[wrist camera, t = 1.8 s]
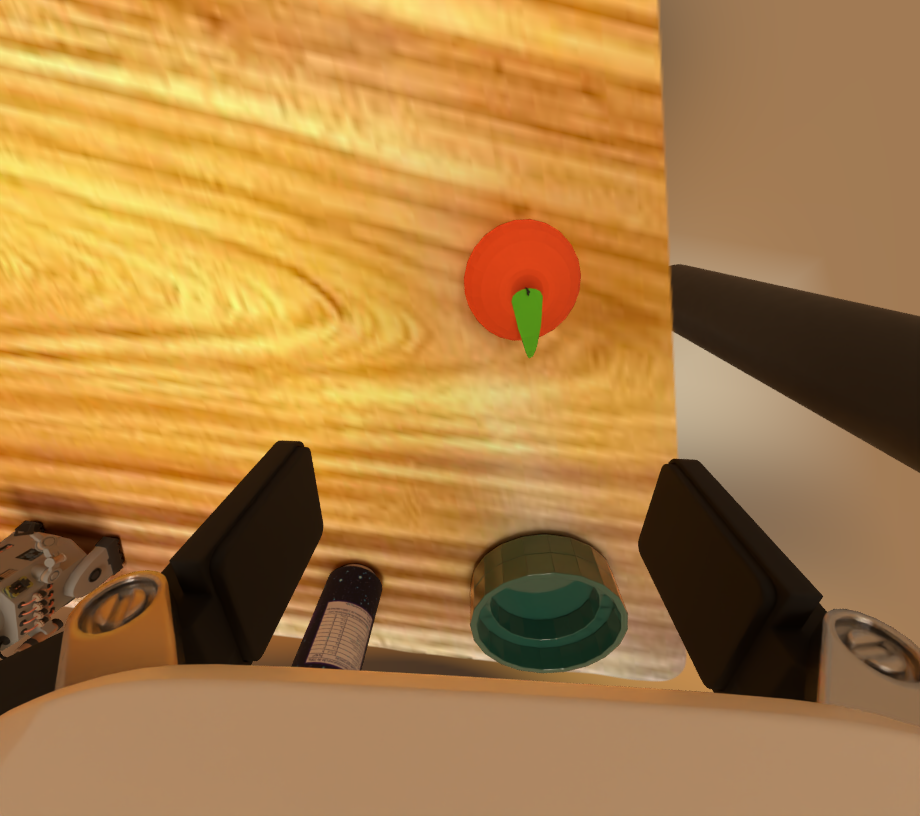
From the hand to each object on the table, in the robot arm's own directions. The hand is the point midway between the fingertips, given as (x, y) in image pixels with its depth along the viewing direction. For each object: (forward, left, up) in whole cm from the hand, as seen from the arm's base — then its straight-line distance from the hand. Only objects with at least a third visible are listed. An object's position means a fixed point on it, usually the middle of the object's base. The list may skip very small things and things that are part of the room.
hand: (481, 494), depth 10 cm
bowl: (-2, +28, -20) cm, 34 cm away
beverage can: (+17, +25, -20) cm, 36 cm away
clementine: (-3, -2, -20) cm, 20 cm away
